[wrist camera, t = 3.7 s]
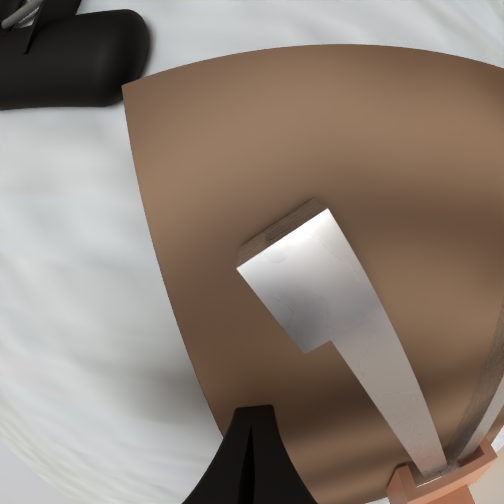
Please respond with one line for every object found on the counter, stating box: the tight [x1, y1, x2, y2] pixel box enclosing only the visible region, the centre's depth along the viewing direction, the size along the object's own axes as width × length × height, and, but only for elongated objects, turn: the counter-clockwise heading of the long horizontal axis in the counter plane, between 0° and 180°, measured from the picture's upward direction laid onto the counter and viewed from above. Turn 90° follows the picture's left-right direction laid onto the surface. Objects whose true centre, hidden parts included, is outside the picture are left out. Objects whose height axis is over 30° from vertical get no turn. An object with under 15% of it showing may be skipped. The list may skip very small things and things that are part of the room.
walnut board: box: [122, 44, 504, 504], centre depth 11 cm, size 28×20×2 cm
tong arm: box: [236, 198, 448, 479], centre depth 9 cm, size 18×2×2 cm, turn 35°
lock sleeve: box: [386, 436, 497, 504], centre depth 10 cm, size 4×7×5 cm, turn 100°
